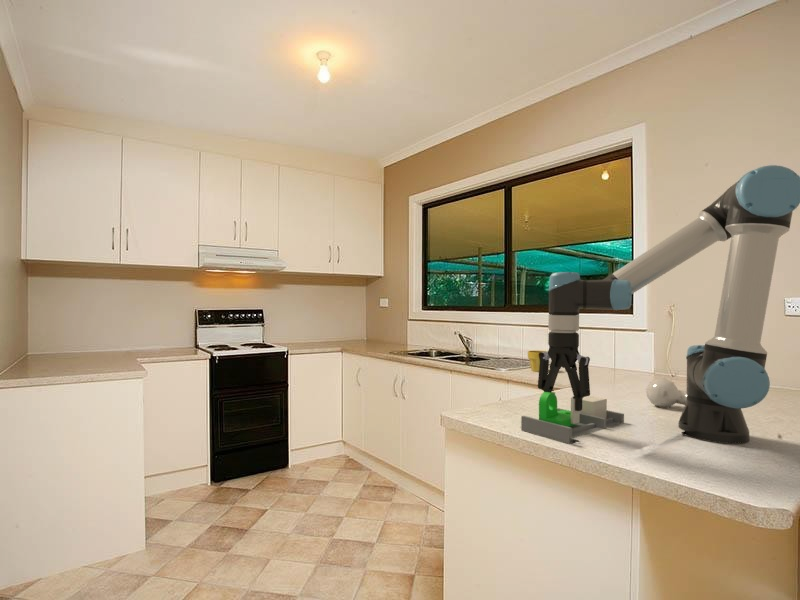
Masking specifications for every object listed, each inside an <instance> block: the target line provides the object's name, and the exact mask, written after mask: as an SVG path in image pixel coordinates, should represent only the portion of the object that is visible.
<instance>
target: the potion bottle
mask: <svg viewBox="0 0 800 600" xmlns="http://www.w3.org/2000/svg"><path fill="white" fill-rule="evenodd" d="M645 392H646V398H647V399H648V400H649V402H650V403H651V404H652V405H654V406H656V407H658V408H660V407H661V408H662V409H663V408H664V409H667V408H668V407H669V408H670V407H672V406H673V405H675V404H679V405H684V406H685V405H686V400H687V390H686V391H685V390H680V389H678V387H677V386H676V384H675V383H674V381H671V380H669V379H666V378H655V379H653V380H652V381H649V382H648V385H647V387H646V388H645Z"/></svg>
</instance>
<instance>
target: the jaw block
mask: <svg viewBox="0 0 800 600" xmlns="http://www.w3.org/2000/svg"><path fill="white" fill-rule="evenodd" d="M607 399H608V398H603V397H599V396H592V395H590V396H586V397H583V399H582V410H581V411H579V413H583V414H587V415H592V416H596V417H601V418H605V419H606V417H607V407H608V406H607V402H608V401H607Z"/></svg>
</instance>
